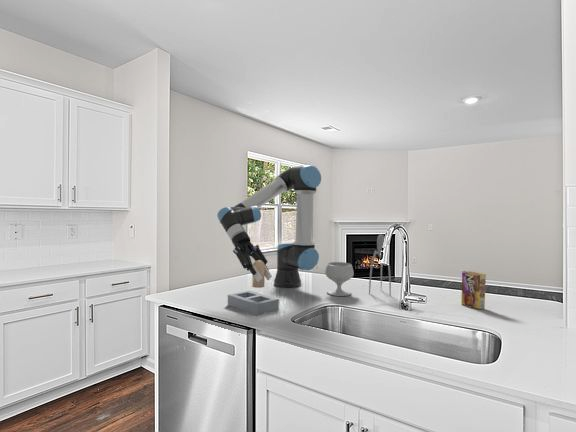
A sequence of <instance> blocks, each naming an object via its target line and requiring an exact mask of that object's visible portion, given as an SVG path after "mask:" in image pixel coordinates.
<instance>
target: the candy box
mask: <svg viewBox="0 0 576 432" xmlns="http://www.w3.org/2000/svg"><path fill="white" fill-rule="evenodd" d="M486 275H487V274H486V273H482V272H476V271H471V270H464V271H462V272H461V303H460V304H464V305H468V306H471V307H470V308H472V307H475V308H485V307H486V305H485V304H486V302H485V301H486V284H487V283H486V282H487V281H486V280H487V278H486V277H487V276H486ZM464 305H463V306H464ZM468 306H467V307H468ZM475 308H474V309H475ZM485 309H486V308H485Z"/></svg>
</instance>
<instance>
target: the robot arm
mask: <svg viewBox="0 0 576 432" xmlns="http://www.w3.org/2000/svg"><path fill="white" fill-rule="evenodd" d="M321 183H322V175H321V172H320V170H319V169H318V168H317V167H316V166H315V165H313V164H312V165H311V164H310V165H309V164H305V165H299V166H292V167H289V168H288V169H286V170H284V171H283V172H282V173H281V174H278V175H277V176H275V178H274V180H273V181H271V182H270V183H268V184H267V185H265V186H264V187H262V188H261V189H259V190H258V191H256V192H254V193H253V194H251V195H250V196H248V197H246V198H245V199H244V200H242V201H241V202H240V203H238V204H236V205H234V206H231V207H229V206H224V207H222V208H220V210H218V212H217V219H218V221H219V224H221V226H222V228H223V229H224V230H225V232H226V234H227V236H228V237H229V239H230V241H231V243H232V244H233V246H234V249H233V250H232V252H233V253H234V254H235V255H236V257H237V259H238V260H239V263H240V264H241V266H242V268H243V269H246V271H249V272H250V273H251V275H252V276H253V275H254V277H255V279H256V280H257V282H260V281H261V279H262V277H261V275H260V273H259V272H258V270H257V268H256V267H255V266H253V262H252V258H253V260H254V262H255V261H257V260H261V261H263V262H264V265H265V279H266V280H267V281H270V280H271V278H272V277H273V275H272V274H271V272H270V271H269V270H270V269H269V268H268V267H267V265H266V264H267V263H268V259H267V258H266V256H265V254H264V253H263V252H262V250H261V249H260V246H259V244H256V245H254V244H253V243H252V242H251V237H250V236H249V234H248V233H247V231H246V229H245V227H244V226H245V225H248V224H253V223H257V222H259V221H260V220H261V218H262V213H261V209H260V208H261V207H263V206H264V205H266V204H267V203H269V202H270V201H272V200H273V199H274V198H276V197H277V196H279V195H280V194H282V193H283V194H284V193H286V192H288V191H290V190H293V192H294V193H295V194H296V216H295V239H294V240H295V241H293V242H292V243H291V242H289V243H288V242H287V243H279V244H278V245H277V250H276V255H277V257H276V261H277V263H276V265H277V266H276V267H277V269H276V274H275V277H274V279H273V285H274V286H276V287H279V288H296V287H301V285H302V279H301V276H300V273H299V270H301V271H311V270H313V269H314V268H315V267H316V266H317V265H318V262H319V259H320V254H319V252H318V250H317V249H315V246H316V245H315V242H314V241H313V220H314V219H313V218H314V217H313V214H314V212H313V211H314V194H316V193H317V188H318V187H319V186H320V184H321Z"/></svg>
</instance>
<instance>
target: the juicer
mask: <svg viewBox="0 0 576 432" xmlns="http://www.w3.org/2000/svg"><path fill="white" fill-rule="evenodd" d="M384 238H385V239H386V237H385V236H384V234H378V236H377V239H376V248H377V250H376V249H375V250H374V252H373V255H372V259H371V264H370V271H369V282H368V284H369V285H368V289H369V290H368V294H369V295H370V294H371V287H372V285H371V284H372V275H373V266H374V261H375V259H376V256H377V255H378V258H379V257H380V250H381V248H382V246H383V242H384ZM390 265H391V264H390V263H389V265H388V264H387V268H388V269H387V270H388V283H389V296H391V294H392V293H391V292H392V291H391V288H392V286H391V285H392V284H391V283H392V281H391V266H390ZM382 282H383V264H382V265H380V290H382V284H383V283H382Z"/></svg>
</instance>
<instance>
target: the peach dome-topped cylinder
mask: <svg viewBox="0 0 576 432" xmlns="http://www.w3.org/2000/svg"><path fill="white" fill-rule="evenodd" d="M252 264H253V266H255V267H256V268H257V270H258V272H259V273H260V275H261V277H262V279H261V281H260V282H257V280H256V279H255V277H254V275H252V288H259V289H260V288H265V279H266V277H265V265H264V262H263V261H261V260H257V261H255V260H254V262H252Z"/></svg>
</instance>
